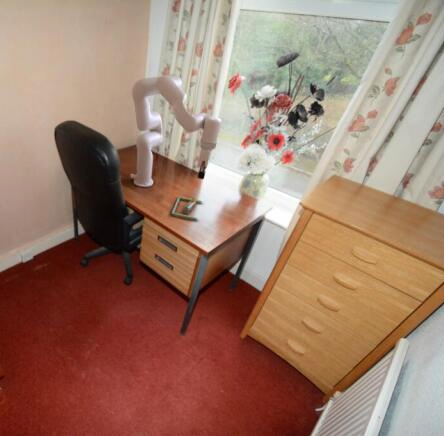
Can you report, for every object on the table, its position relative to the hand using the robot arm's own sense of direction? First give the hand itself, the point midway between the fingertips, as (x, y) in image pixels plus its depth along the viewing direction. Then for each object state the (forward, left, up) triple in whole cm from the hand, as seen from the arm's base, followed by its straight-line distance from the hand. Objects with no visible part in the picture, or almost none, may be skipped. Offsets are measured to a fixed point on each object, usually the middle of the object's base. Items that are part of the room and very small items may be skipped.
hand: (200, 178), depth 142 cm
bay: (-4, -4, -18) cm, 19 cm away
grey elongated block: (-3, -3, -19) cm, 19 cm away
